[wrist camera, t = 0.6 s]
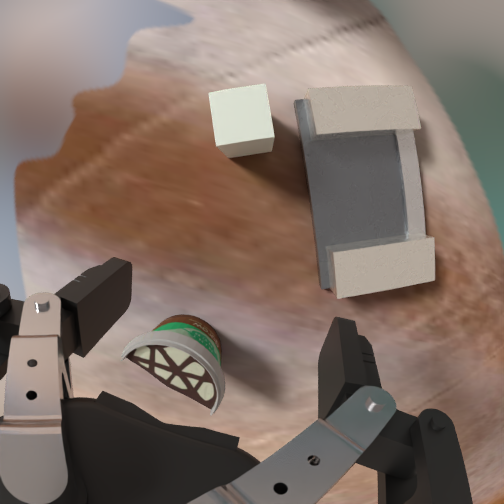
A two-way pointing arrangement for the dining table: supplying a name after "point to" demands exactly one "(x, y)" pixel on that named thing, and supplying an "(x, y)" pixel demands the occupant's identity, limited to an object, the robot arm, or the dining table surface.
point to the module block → (242, 120)
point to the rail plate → (365, 188)
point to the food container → (182, 358)
